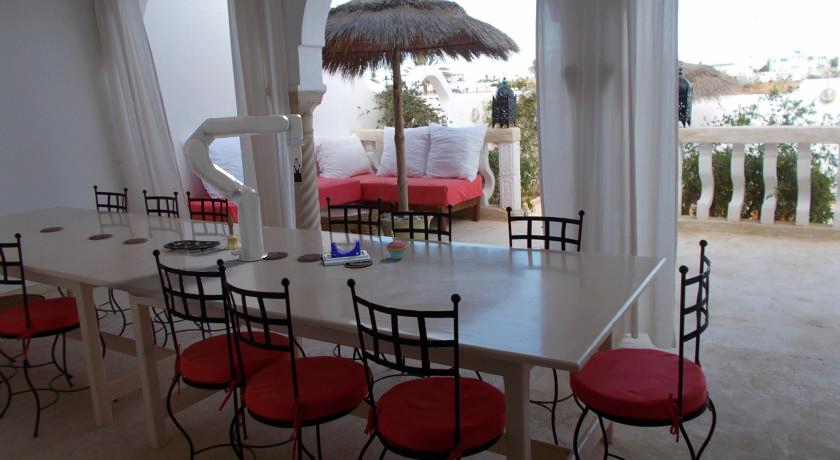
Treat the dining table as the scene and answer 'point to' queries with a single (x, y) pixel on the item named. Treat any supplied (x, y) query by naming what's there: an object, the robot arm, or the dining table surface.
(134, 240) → the dining table surface
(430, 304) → the dining table surface
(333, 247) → the cable clip
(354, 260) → the door panel
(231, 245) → the hand bell
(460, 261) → the dining table surface
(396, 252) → the cupcake
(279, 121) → the robot arm
